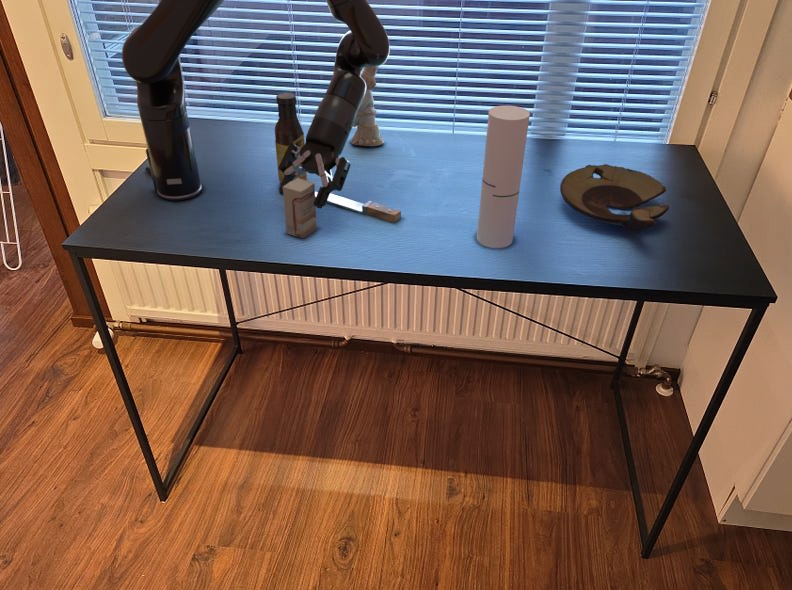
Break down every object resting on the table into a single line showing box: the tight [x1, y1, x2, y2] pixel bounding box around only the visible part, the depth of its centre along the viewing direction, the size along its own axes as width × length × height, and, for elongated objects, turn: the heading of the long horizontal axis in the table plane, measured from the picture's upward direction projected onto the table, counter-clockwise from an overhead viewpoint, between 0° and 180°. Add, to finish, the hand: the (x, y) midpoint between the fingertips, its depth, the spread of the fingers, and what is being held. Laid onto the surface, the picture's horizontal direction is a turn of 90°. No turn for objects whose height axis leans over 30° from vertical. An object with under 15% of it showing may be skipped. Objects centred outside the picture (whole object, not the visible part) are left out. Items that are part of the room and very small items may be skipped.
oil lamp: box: [559, 163, 670, 234], centre depth 137 cm, size 22×30×8 cm
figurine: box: [350, 66, 385, 147], centre depth 162 cm, size 9×8×20 cm
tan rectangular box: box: [282, 178, 318, 239], centre depth 130 cm, size 5×4×10 cm
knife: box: [315, 191, 402, 224], centre depth 141 cm, size 22×3×2 cm, turn 57°
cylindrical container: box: [476, 105, 531, 249], centre depth 124 cm, size 7×7×25 cm
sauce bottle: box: [274, 92, 308, 186], centre depth 142 cm, size 7×6×20 cm
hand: (300, 201), depth 130 cm, fingers open, 8 cm apart
